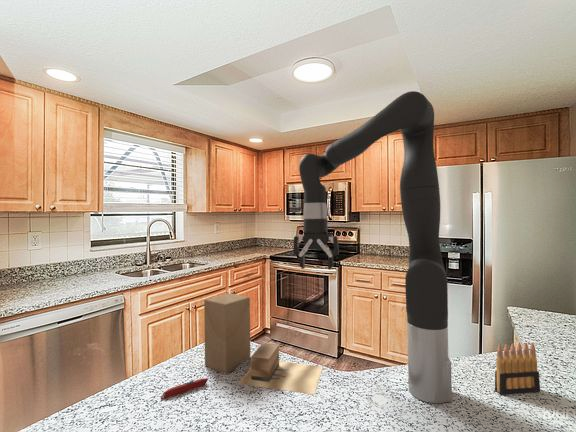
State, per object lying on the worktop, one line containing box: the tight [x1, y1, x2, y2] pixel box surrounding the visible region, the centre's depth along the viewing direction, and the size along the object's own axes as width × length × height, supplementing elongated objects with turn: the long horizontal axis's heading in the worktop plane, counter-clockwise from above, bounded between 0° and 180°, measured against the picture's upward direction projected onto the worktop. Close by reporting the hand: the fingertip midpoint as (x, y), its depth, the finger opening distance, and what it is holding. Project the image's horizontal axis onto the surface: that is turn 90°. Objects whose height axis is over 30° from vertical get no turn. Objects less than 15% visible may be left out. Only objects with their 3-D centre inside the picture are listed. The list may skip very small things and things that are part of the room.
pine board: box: [238, 360, 324, 395], centre depth 81 cm, size 20×14×2 cm
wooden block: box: [203, 293, 251, 375], centre depth 91 cm, size 10×10×20 cm
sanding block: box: [250, 342, 280, 382], centre depth 82 cm, size 5×9×6 cm, turn 165°
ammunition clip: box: [494, 342, 541, 396], centre depth 74 cm, size 11×2×12 cm, turn 95°
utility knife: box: [160, 378, 209, 400], centre depth 76 cm, size 12×1×2 cm, turn 124°
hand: (316, 268), depth 94 cm, fingers open, 8 cm apart
